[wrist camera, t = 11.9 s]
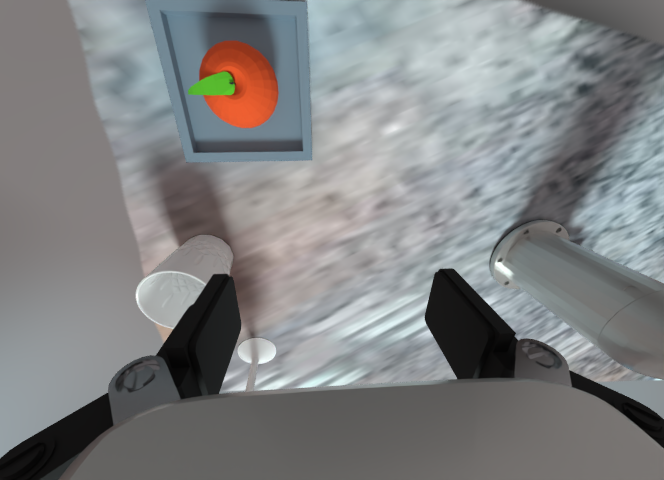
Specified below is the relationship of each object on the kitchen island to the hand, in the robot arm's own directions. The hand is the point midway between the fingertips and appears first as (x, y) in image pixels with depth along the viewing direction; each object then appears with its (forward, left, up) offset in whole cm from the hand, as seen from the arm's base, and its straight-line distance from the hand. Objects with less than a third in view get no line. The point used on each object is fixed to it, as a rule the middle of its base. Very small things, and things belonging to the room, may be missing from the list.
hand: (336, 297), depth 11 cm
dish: (+7, -10, -23) cm, 26 cm away
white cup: (+15, +10, -23) cm, 29 cm away
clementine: (+7, -10, -22) cm, 26 cm away
